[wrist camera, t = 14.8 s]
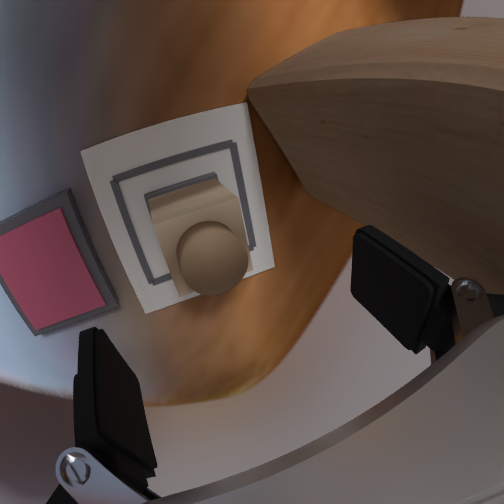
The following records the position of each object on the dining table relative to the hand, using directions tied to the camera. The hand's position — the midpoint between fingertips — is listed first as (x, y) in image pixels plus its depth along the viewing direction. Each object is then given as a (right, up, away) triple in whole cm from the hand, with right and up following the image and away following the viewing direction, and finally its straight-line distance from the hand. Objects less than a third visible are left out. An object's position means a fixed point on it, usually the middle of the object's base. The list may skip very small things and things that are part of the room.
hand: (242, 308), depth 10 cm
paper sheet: (-4, +4, +10) cm, 12 cm away
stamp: (-4, +4, +10) cm, 11 cm away
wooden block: (+6, +12, +10) cm, 17 cm away
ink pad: (-14, +1, +8) cm, 16 cm away
